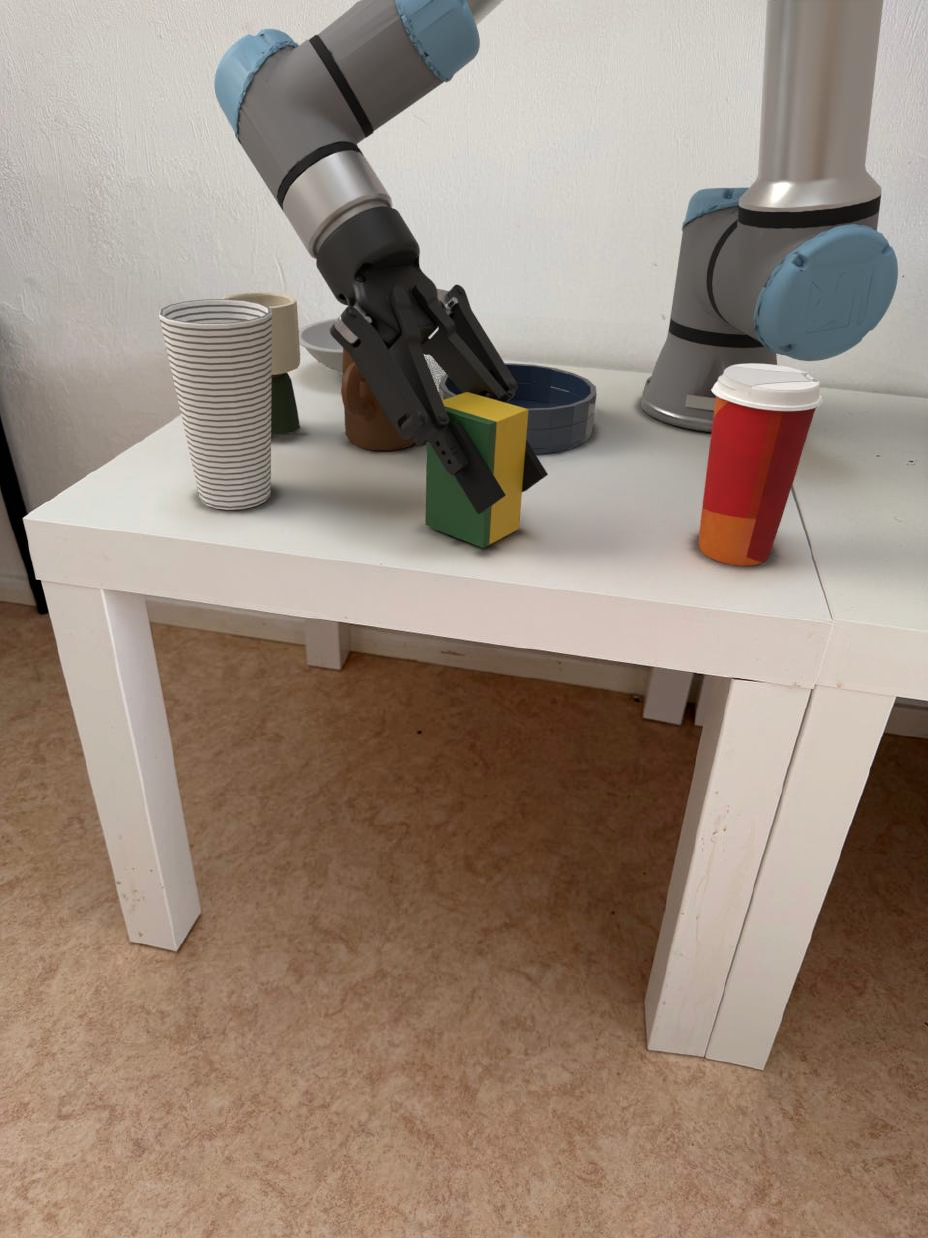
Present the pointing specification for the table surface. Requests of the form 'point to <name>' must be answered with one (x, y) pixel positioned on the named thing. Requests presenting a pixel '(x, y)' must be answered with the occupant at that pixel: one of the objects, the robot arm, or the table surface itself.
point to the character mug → (281, 357)
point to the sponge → (503, 451)
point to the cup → (224, 395)
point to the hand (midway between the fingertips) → (513, 493)
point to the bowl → (548, 405)
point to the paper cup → (753, 458)
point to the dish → (322, 344)
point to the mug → (366, 413)
